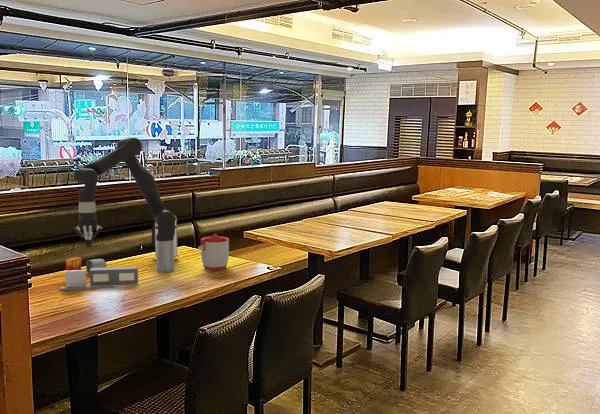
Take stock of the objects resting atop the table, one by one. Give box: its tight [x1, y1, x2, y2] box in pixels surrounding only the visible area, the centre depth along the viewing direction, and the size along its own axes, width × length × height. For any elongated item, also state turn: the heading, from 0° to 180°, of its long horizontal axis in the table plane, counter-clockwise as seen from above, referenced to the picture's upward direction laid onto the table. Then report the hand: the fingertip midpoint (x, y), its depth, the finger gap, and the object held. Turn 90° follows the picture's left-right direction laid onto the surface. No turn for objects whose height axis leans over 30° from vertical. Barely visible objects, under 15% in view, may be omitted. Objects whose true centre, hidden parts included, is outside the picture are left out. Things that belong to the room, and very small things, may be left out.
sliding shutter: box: [65, 269, 88, 287], centre depth 255 cm, size 9×1×8 cm, turn 103°
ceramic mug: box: [85, 258, 107, 275], centre depth 285 cm, size 11×8×8 cm
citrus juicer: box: [197, 233, 230, 272], centre depth 296 cm, size 16×17×20 cm
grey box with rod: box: [59, 265, 139, 292], centre depth 261 cm, size 35×10×8 cm, turn 103°
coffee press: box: [151, 213, 180, 261], centre depth 314 cm, size 17×16×30 cm
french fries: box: [65, 256, 82, 271], centre depth 268 cm, size 8×4×12 cm, turn 152°
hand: (89, 246), depth 255 cm, fingers closed
